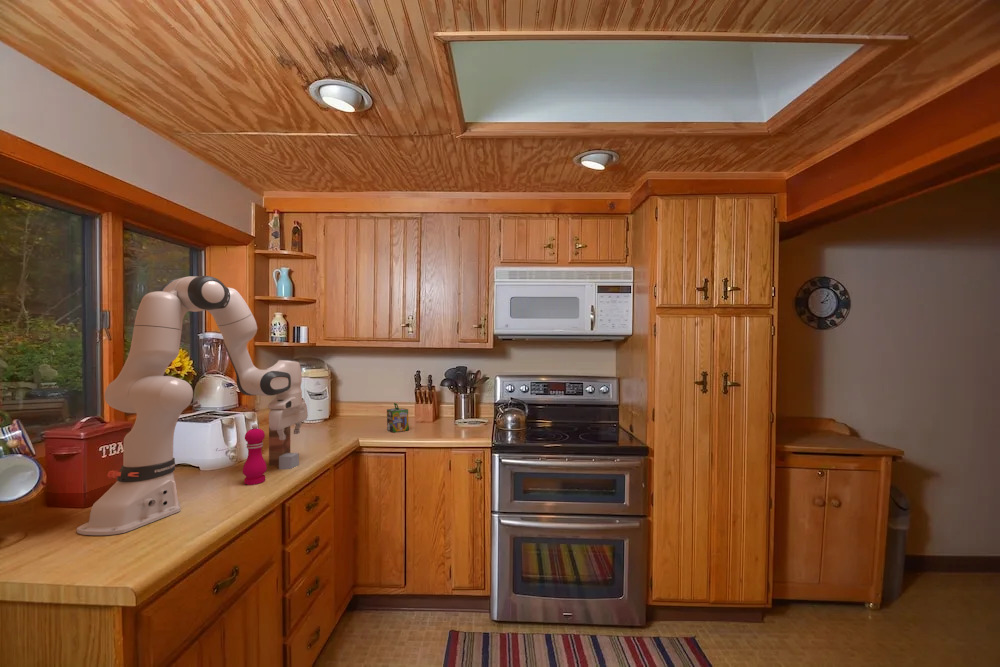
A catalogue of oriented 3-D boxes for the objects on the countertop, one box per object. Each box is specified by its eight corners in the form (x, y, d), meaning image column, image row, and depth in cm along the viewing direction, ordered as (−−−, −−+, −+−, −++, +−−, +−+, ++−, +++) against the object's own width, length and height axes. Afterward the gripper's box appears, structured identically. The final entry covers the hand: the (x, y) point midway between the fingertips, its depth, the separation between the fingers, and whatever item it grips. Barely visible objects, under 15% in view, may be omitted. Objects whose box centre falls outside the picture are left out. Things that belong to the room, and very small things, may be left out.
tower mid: (282, 451, 166) (282, 437, 166) (268, 451, 166) (268, 437, 166) (290, 447, 171) (290, 434, 171) (277, 447, 171) (277, 434, 172)
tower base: (282, 465, 165) (282, 451, 166) (268, 465, 166) (268, 451, 166) (290, 461, 171) (290, 447, 171) (277, 461, 171) (277, 447, 171)
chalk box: (409, 430, 228) (408, 403, 228) (392, 433, 222) (392, 404, 223) (402, 427, 235) (402, 401, 235) (386, 430, 230) (386, 402, 230)
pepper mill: (239, 482, 146) (239, 424, 146) (262, 477, 151) (262, 421, 151) (246, 487, 141) (246, 427, 141) (269, 481, 146) (269, 423, 147)
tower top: (282, 437, 166) (282, 423, 166) (268, 437, 166) (268, 423, 166) (290, 434, 171) (290, 420, 171) (277, 434, 172) (277, 420, 172)
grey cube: (291, 469, 160) (291, 456, 160) (279, 469, 161) (279, 456, 161) (298, 465, 165) (298, 453, 165) (286, 465, 166) (286, 452, 166)
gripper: (296, 396, 174) (297, 430, 174) (265, 405, 154) (265, 443, 154) (311, 396, 173) (311, 430, 174) (281, 405, 153) (282, 443, 153)
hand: (289, 436), depth 163 cm, fingers open, 8 cm apart
